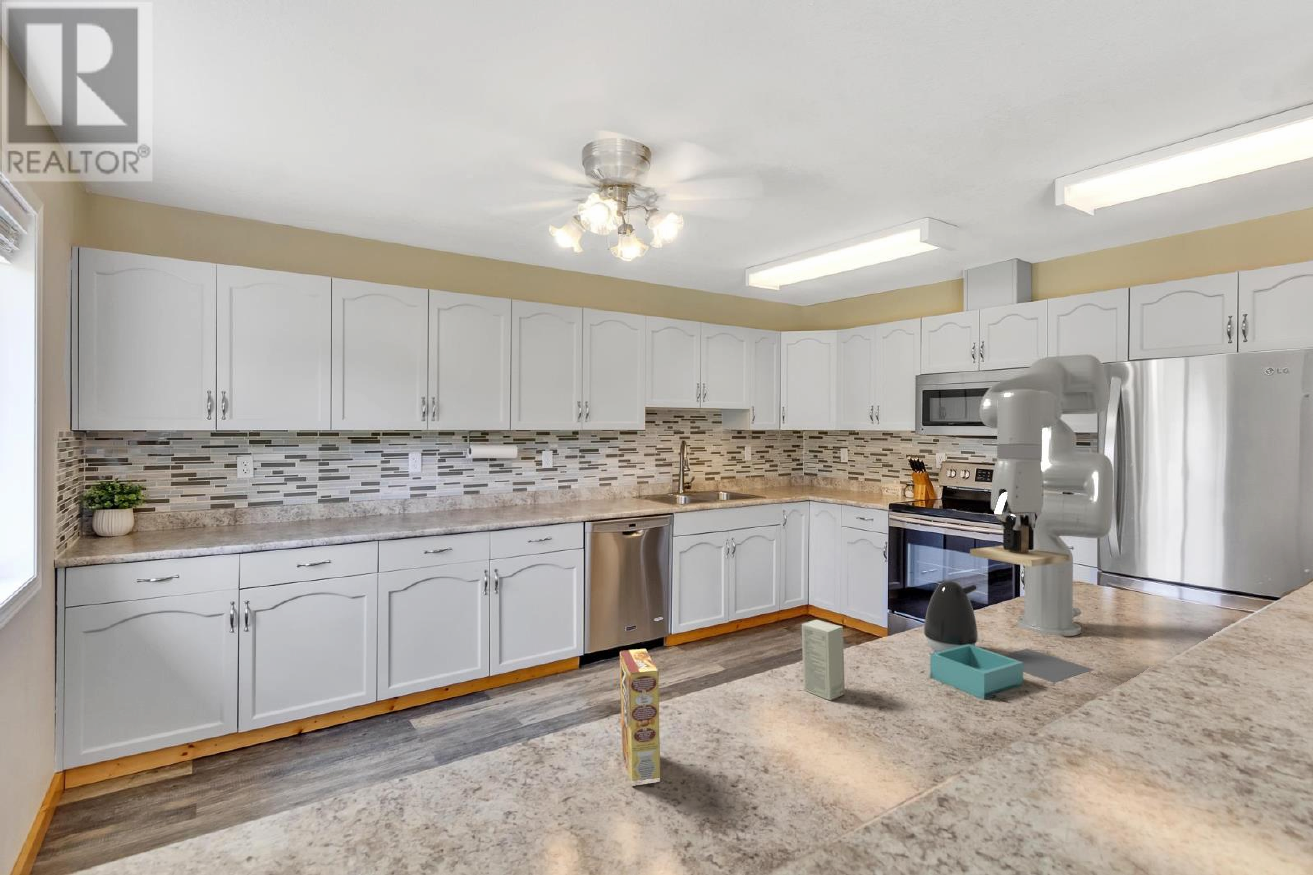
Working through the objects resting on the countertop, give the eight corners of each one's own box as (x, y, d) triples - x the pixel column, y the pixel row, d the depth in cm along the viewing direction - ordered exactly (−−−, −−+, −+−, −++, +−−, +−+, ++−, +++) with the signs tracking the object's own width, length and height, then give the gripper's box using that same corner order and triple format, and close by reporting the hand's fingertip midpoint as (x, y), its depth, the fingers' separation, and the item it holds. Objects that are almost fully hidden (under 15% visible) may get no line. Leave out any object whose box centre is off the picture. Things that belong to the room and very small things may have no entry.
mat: (1027, 650, 133) (1027, 648, 133) (1093, 671, 121) (1093, 669, 121) (987, 661, 127) (987, 659, 127) (1053, 684, 115) (1053, 682, 115)
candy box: (661, 784, 84) (661, 670, 83) (630, 788, 83) (629, 673, 83) (647, 751, 92) (647, 647, 92) (619, 754, 91) (618, 650, 91)
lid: (1007, 550, 129) (1007, 520, 129) (1069, 561, 118) (1069, 528, 118) (970, 555, 123) (970, 523, 123) (1031, 566, 112) (1031, 532, 112)
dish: (968, 666, 124) (968, 644, 124) (1023, 687, 114) (1023, 662, 114) (930, 677, 119) (930, 653, 119) (984, 699, 109) (984, 673, 109)
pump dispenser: (988, 662, 126) (988, 587, 126) (936, 662, 126) (936, 587, 126) (964, 645, 136) (964, 575, 136) (916, 644, 136) (916, 575, 136)
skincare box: (845, 695, 111) (845, 626, 111) (829, 701, 108) (829, 632, 108) (816, 683, 116) (816, 618, 116) (801, 689, 113) (800, 623, 113)
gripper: (1025, 453, 128) (1024, 543, 128) (973, 453, 120) (973, 549, 120) (1063, 454, 121) (1063, 549, 121) (1012, 454, 113) (1011, 556, 113)
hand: (1018, 548), depth 120 cm, fingers closed on lid, 3 cm apart
